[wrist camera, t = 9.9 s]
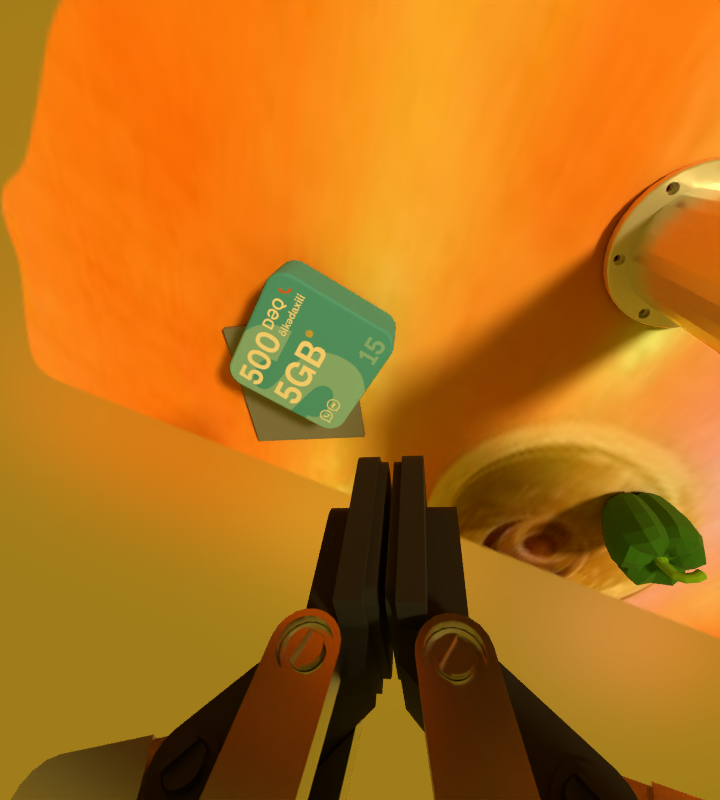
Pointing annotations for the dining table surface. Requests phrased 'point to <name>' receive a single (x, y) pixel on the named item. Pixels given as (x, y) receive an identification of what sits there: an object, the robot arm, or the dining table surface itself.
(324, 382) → the teal square box
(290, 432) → the mat
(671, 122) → the dining table surface
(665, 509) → the bell pepper
